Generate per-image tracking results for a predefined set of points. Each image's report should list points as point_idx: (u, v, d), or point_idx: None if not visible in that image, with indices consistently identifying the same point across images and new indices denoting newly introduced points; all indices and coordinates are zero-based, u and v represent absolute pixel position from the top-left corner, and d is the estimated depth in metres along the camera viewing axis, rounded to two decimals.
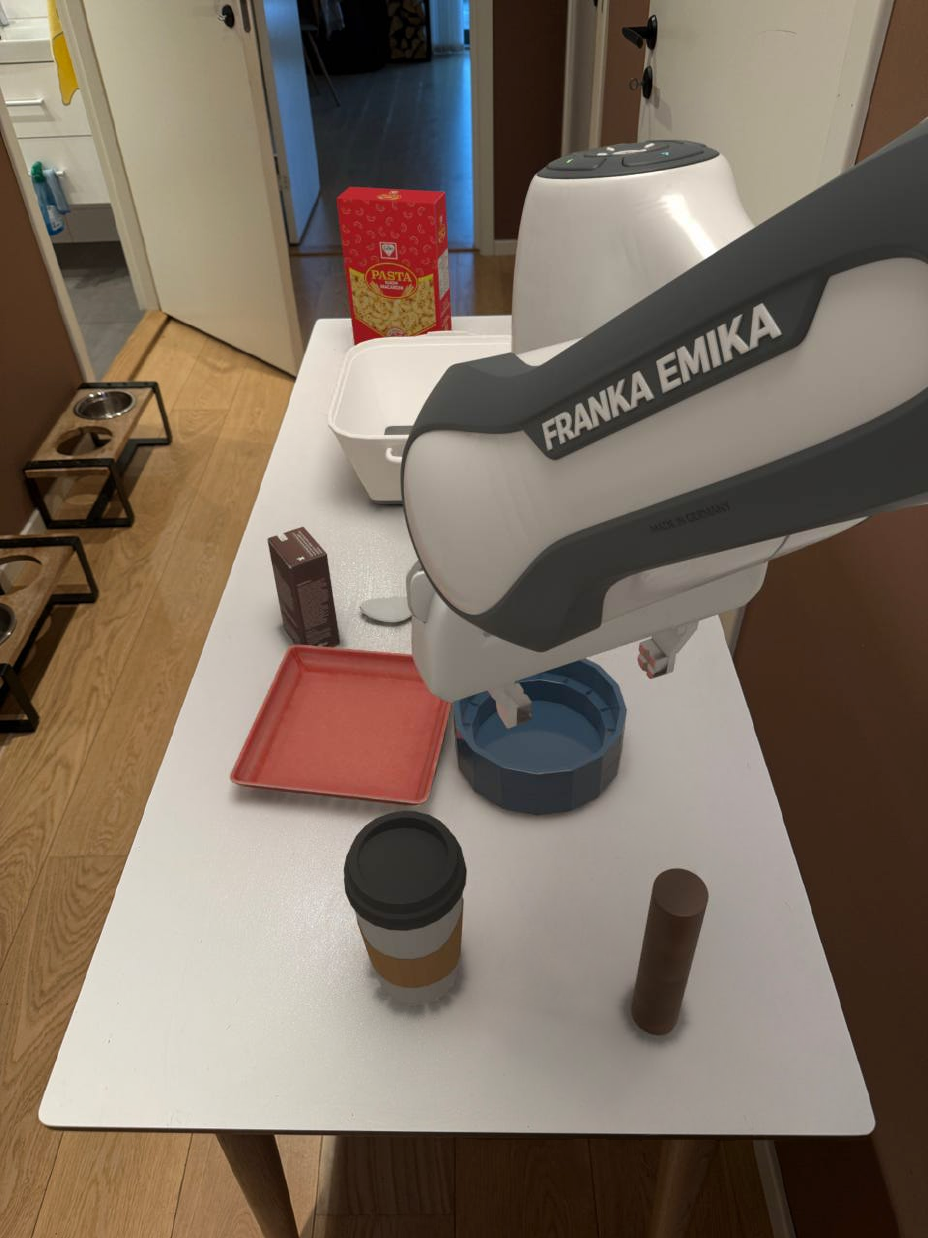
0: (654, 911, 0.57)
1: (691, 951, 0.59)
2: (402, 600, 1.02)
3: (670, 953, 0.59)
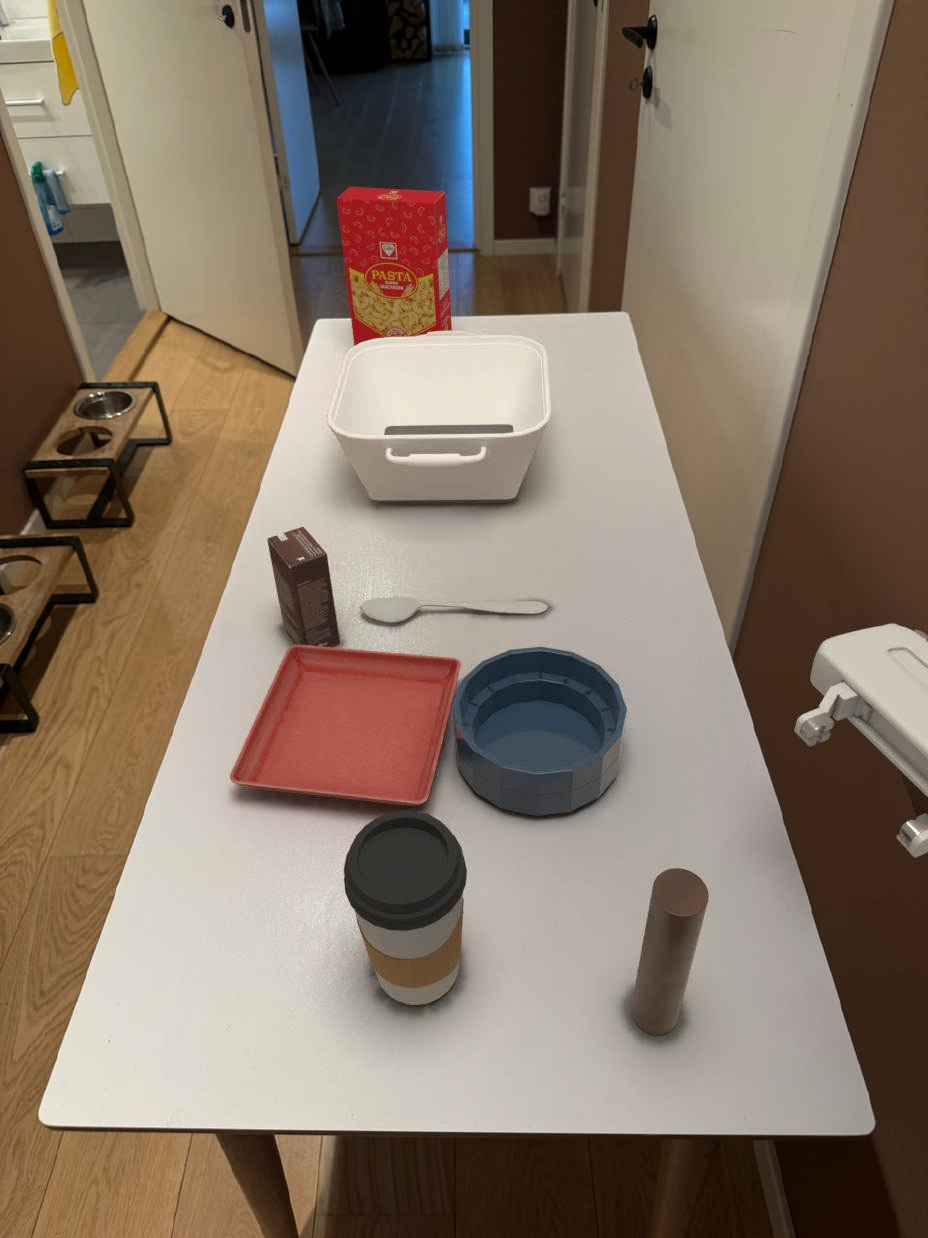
0: (654, 911, 0.57)
1: (691, 951, 0.59)
2: (402, 600, 1.02)
3: (670, 953, 0.59)
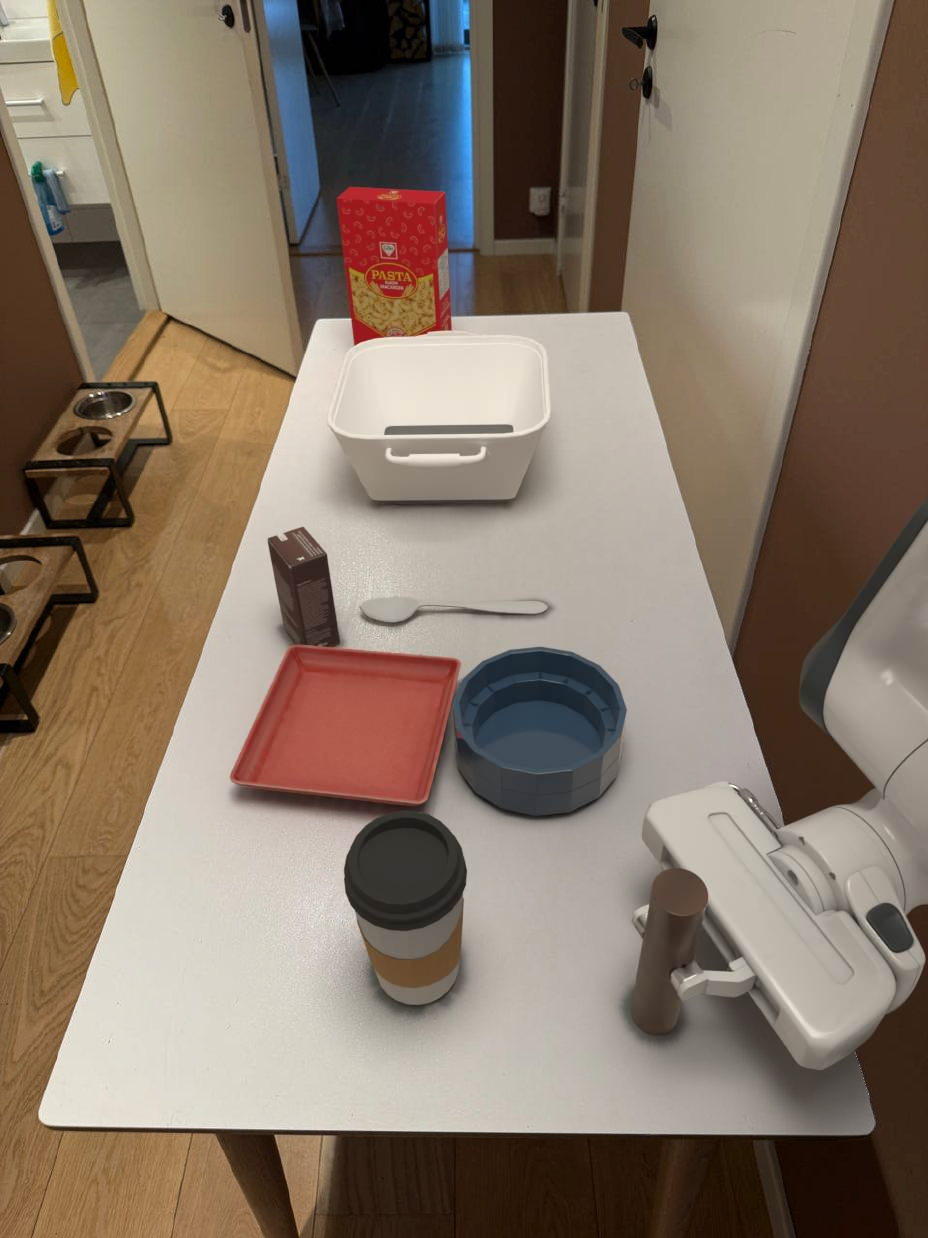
0: (654, 911, 0.57)
1: (691, 951, 0.59)
2: (402, 600, 1.02)
3: (670, 952, 0.59)
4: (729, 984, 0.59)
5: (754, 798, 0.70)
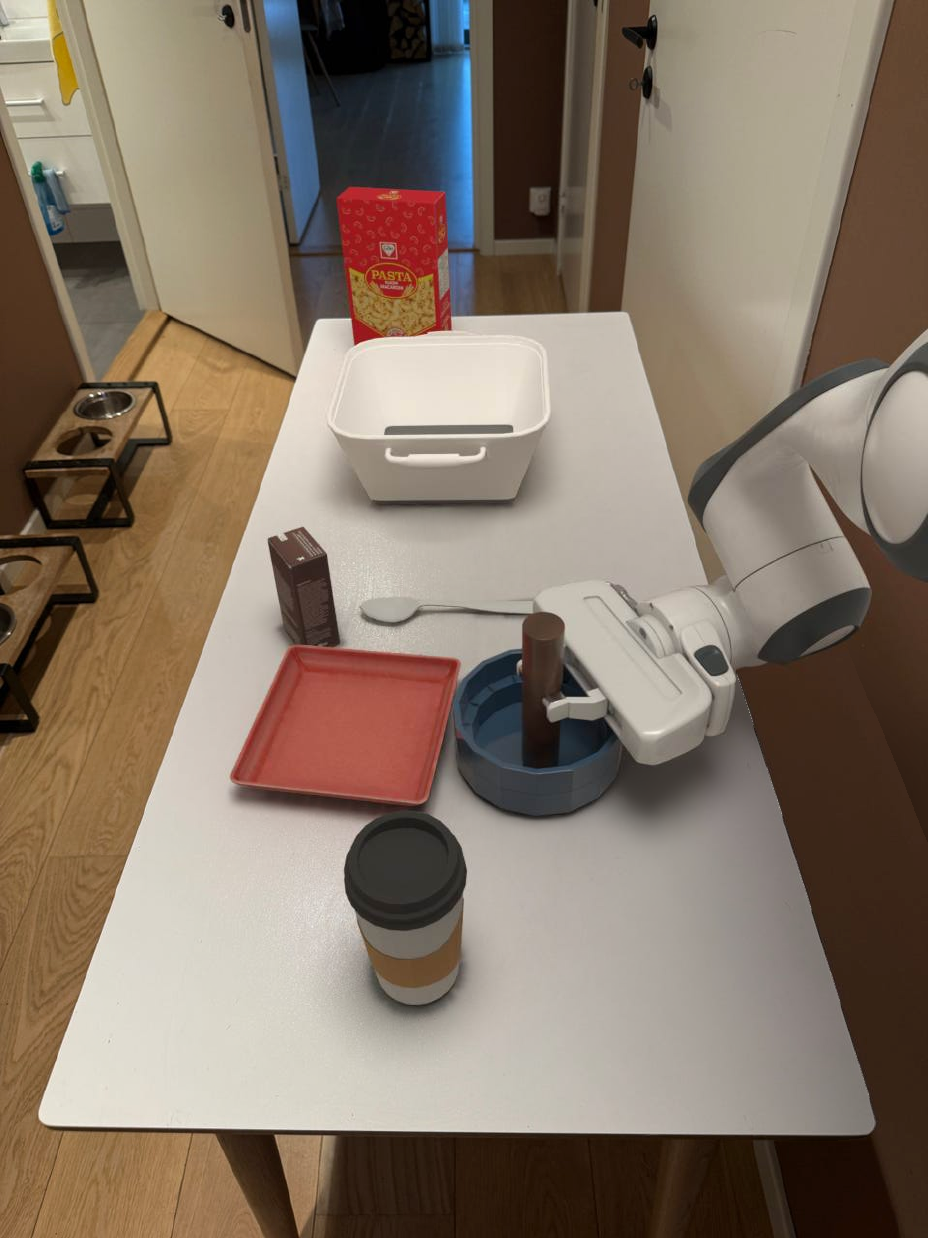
0: (524, 642, 0.74)
1: (556, 680, 0.76)
2: (402, 600, 1.03)
3: (538, 679, 0.75)
4: (586, 706, 0.76)
5: (624, 590, 0.87)
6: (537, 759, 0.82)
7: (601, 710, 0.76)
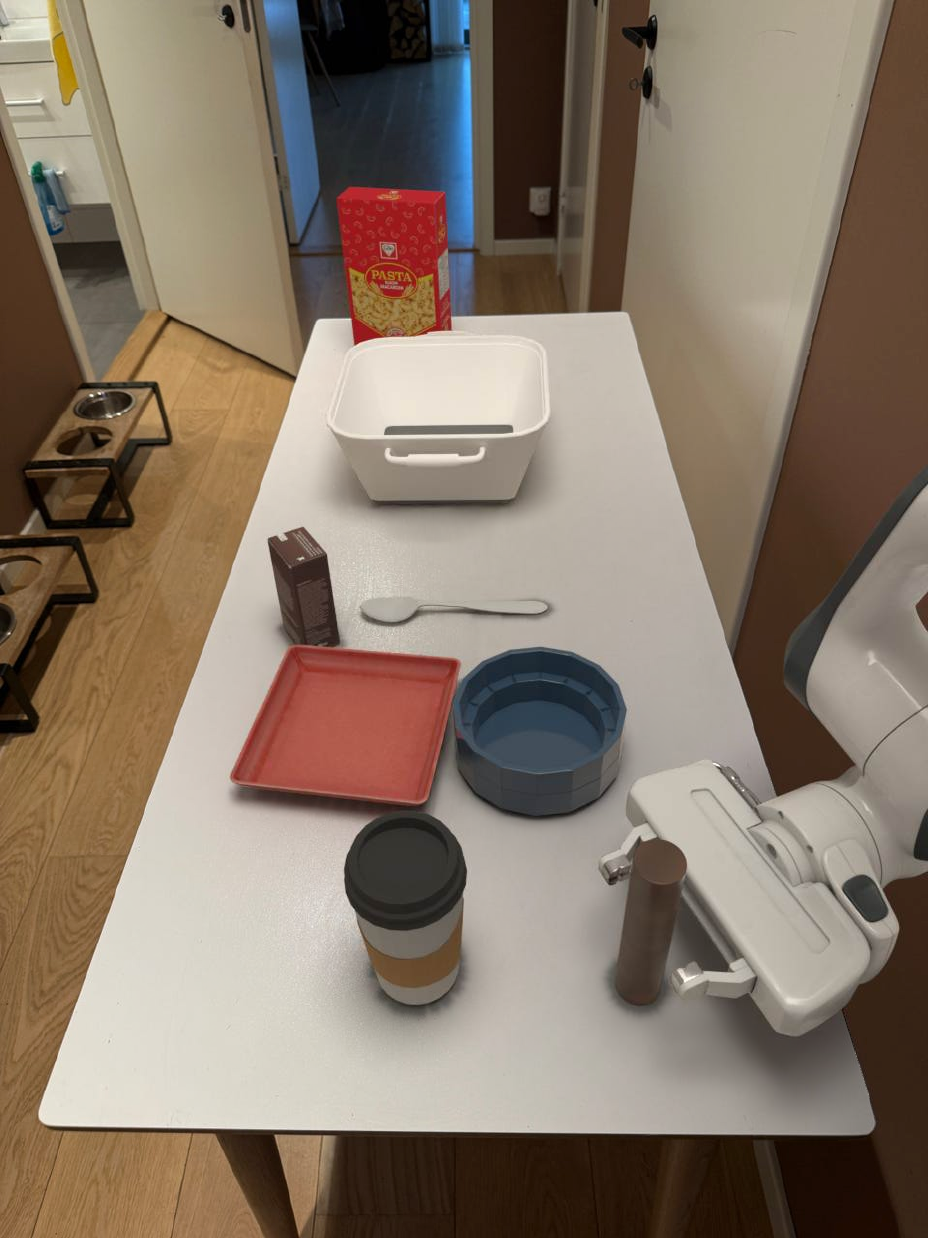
0: (635, 880, 0.59)
1: (671, 920, 0.61)
2: (402, 600, 1.03)
3: (650, 921, 0.61)
4: (729, 985, 0.59)
5: (736, 776, 0.72)
6: (637, 994, 0.67)
7: (747, 987, 0.60)
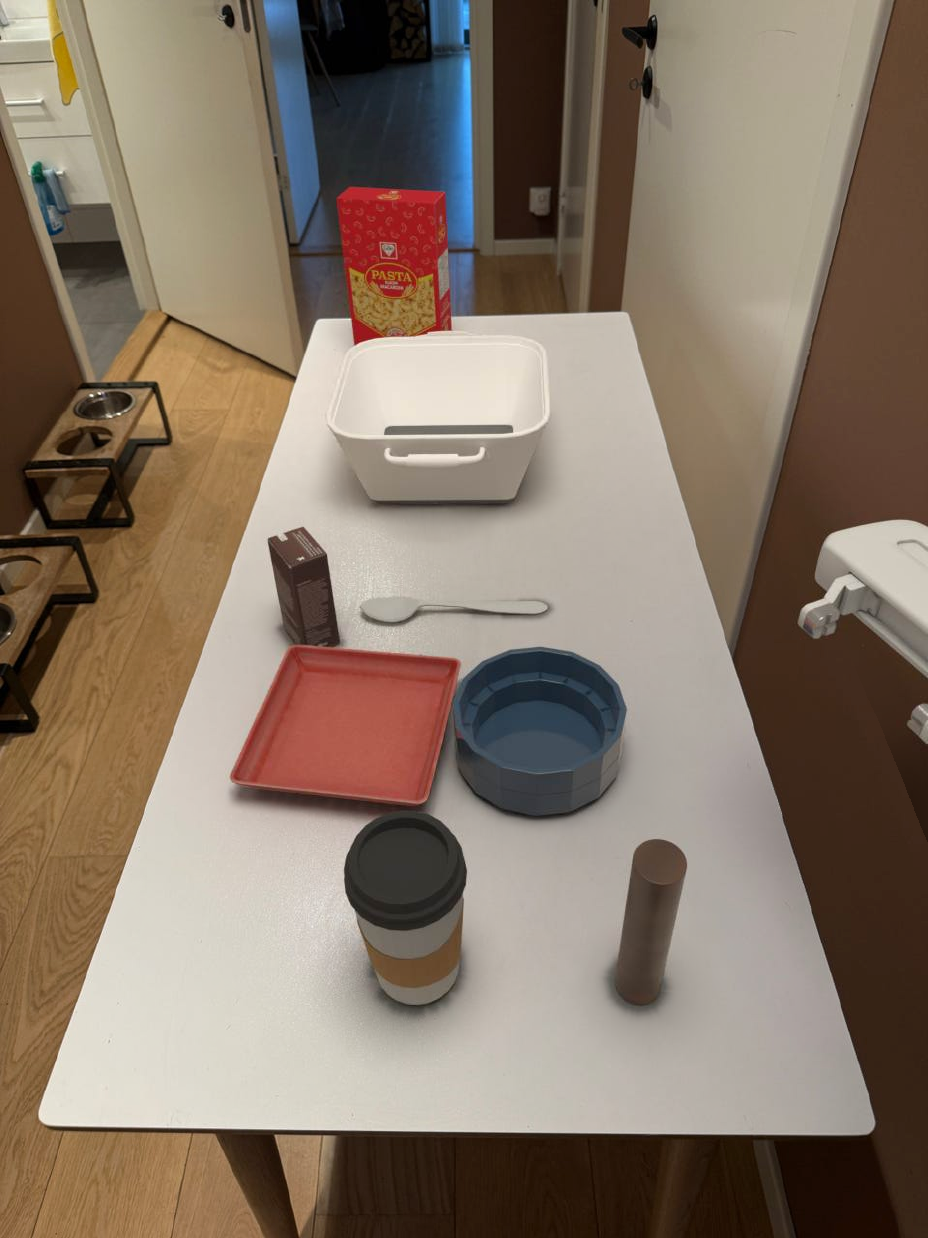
0: (635, 880, 0.59)
1: (671, 920, 0.61)
2: (402, 600, 1.03)
3: (650, 921, 0.61)
4: None
5: None
6: (637, 994, 0.67)
7: None
